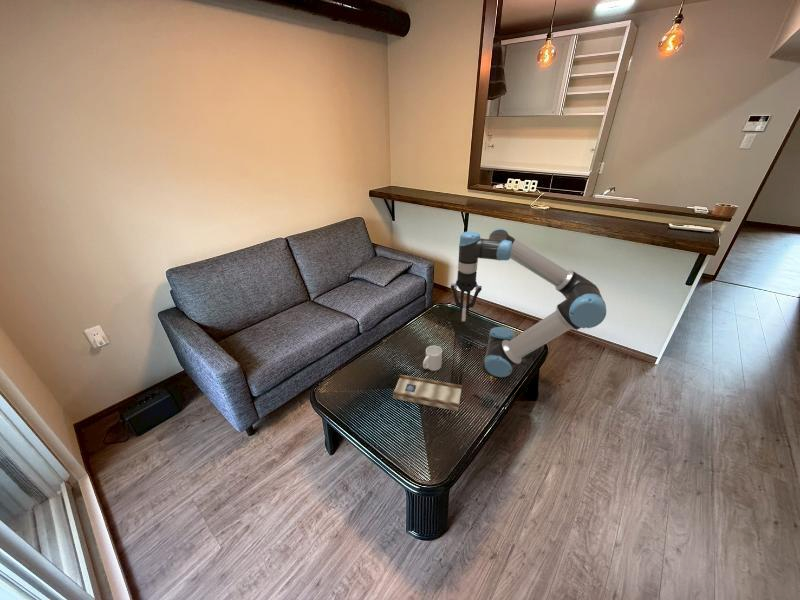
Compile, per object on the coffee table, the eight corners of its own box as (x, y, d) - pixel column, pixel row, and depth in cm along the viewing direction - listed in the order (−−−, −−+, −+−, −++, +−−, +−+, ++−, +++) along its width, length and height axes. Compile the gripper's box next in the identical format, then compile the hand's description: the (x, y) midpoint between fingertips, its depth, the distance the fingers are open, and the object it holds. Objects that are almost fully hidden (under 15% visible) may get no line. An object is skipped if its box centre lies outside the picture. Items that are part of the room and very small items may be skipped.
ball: (406, 387, 145) (412, 391, 145) (404, 392, 142) (410, 396, 142) (409, 382, 143) (415, 386, 143) (407, 387, 140) (413, 391, 140)
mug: (428, 377, 152) (429, 361, 147) (417, 369, 157) (417, 353, 152) (444, 366, 159) (445, 350, 154) (433, 358, 164) (433, 343, 159)
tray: (461, 391, 143) (461, 385, 141) (458, 411, 133) (458, 404, 131) (400, 380, 151) (399, 374, 149) (393, 398, 141) (392, 392, 139)
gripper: (484, 268, 124) (479, 316, 136) (452, 265, 128) (450, 313, 139) (483, 275, 118) (478, 326, 129) (449, 272, 121) (447, 322, 133)
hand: (463, 319), depth 134 cm, fingers closed
